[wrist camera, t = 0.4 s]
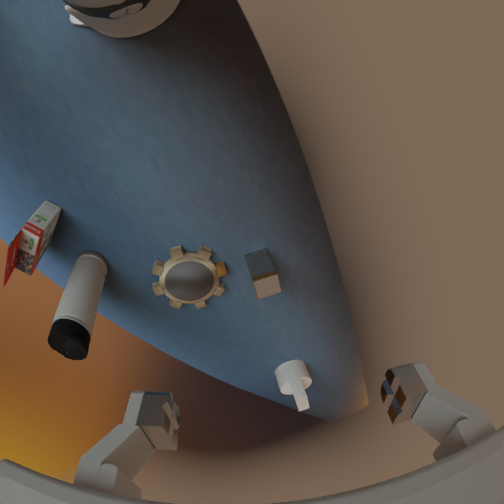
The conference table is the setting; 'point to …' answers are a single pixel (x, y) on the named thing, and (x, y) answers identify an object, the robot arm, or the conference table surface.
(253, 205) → the conference table surface
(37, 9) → the conference table surface
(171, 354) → the conference table surface
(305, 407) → the base with upright slab
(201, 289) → the toothed wheel
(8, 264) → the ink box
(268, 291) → the link block
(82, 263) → the travel mug
